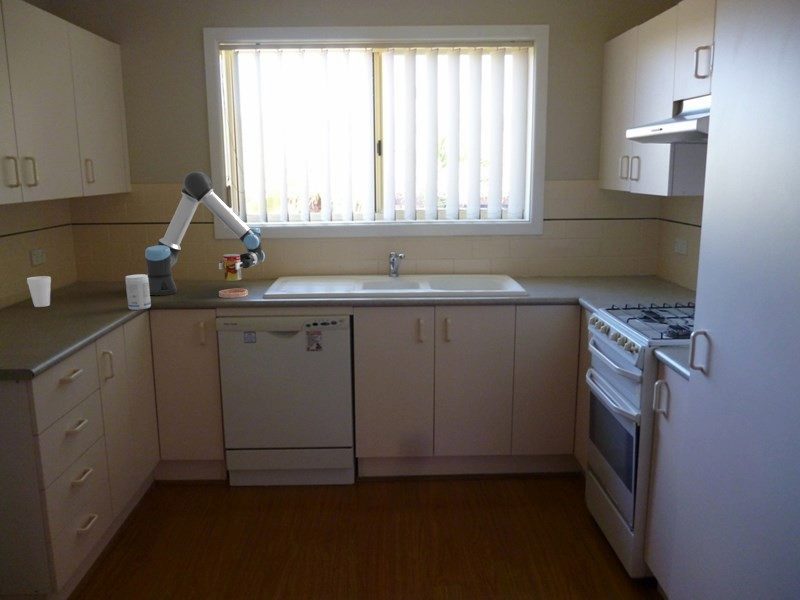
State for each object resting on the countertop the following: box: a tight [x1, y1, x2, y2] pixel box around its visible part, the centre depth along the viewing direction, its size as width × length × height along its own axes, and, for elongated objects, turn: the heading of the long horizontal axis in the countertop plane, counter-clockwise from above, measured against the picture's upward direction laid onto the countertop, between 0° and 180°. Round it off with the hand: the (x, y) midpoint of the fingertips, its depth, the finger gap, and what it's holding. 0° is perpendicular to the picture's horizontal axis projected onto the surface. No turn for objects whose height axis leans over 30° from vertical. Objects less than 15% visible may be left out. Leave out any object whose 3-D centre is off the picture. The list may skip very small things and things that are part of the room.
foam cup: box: [26, 275, 52, 308], centre depth 301 cm, size 10×9×13 cm
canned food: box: [222, 253, 242, 282], centre depth 320 cm, size 8×8×12 cm
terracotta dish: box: [218, 288, 249, 299], centre depth 322 cm, size 14×14×2 cm
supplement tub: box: [124, 273, 152, 311], centre depth 293 cm, size 10×10×15 cm
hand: (227, 266), depth 315 cm, fingers closed on canned food, 8 cm apart
